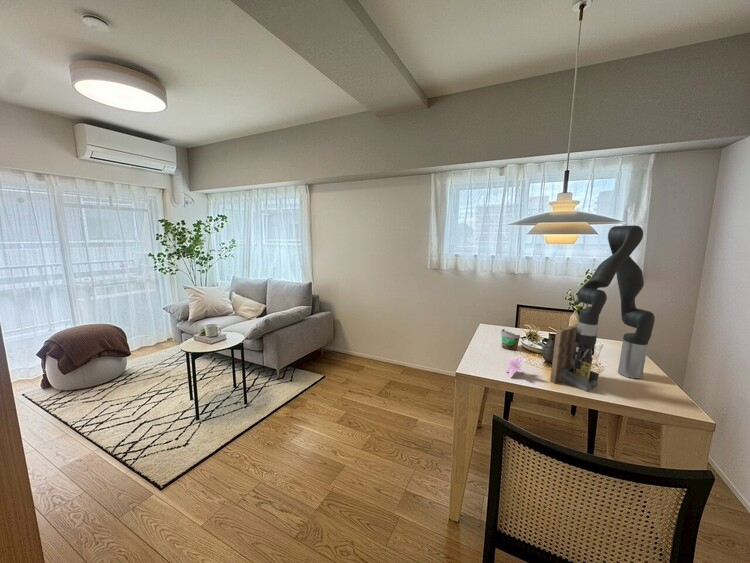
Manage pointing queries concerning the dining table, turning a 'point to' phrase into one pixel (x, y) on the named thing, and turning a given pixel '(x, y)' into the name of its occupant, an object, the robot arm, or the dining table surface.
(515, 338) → the food container
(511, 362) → the lily
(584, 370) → the sauce bottle
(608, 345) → the dining table surface
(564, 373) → the wavy bookend stand
